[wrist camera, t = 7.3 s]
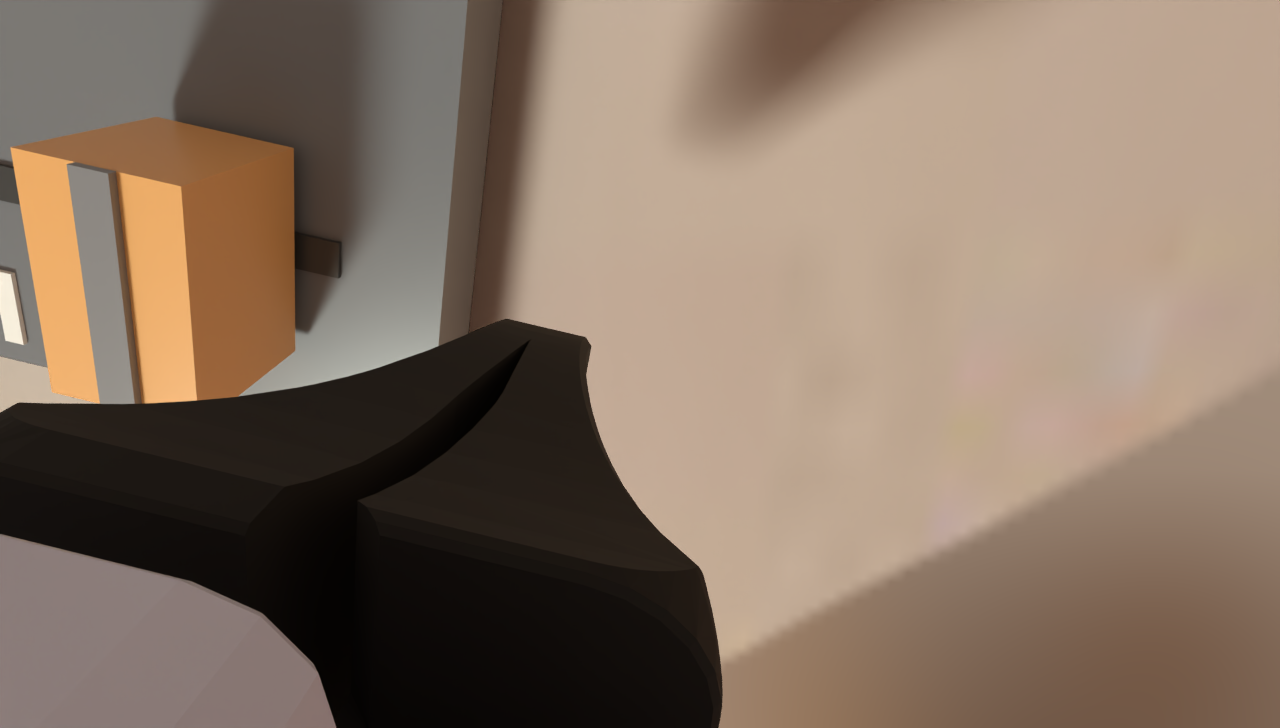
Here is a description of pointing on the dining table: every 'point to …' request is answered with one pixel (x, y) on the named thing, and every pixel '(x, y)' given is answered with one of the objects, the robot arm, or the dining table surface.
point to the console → (294, 117)
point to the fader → (159, 259)
